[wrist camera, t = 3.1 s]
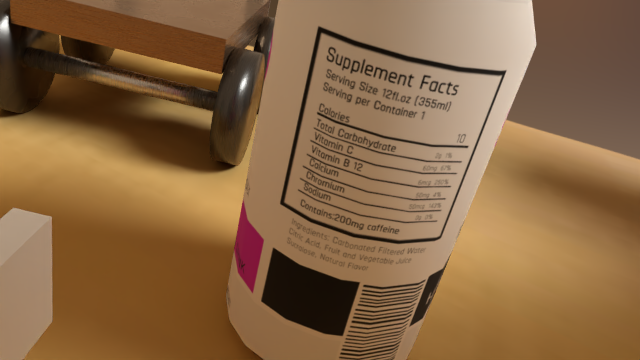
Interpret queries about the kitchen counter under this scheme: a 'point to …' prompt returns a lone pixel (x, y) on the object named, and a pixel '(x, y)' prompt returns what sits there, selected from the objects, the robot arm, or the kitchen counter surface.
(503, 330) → the kitchen counter surface
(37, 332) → the robot arm
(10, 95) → the trolley
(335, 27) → the supplement can
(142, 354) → the kitchen counter surface
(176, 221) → the kitchen counter surface
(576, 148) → the kitchen counter surface
